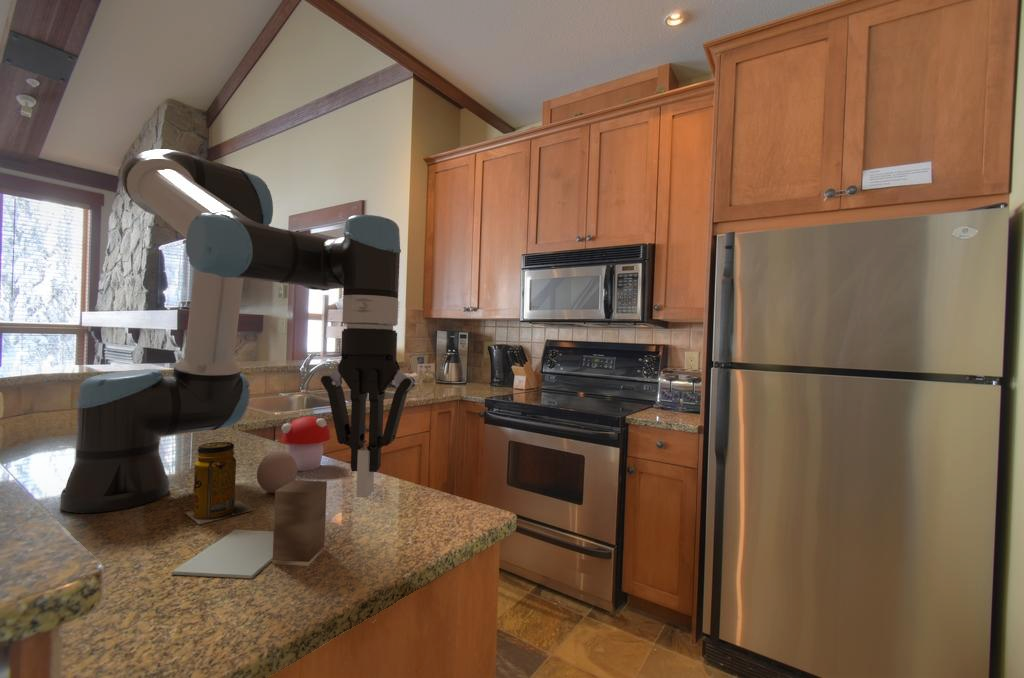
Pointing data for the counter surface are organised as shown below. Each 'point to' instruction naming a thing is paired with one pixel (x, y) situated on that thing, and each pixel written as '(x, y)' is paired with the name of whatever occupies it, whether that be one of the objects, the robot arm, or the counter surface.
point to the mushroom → (306, 441)
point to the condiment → (215, 484)
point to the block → (299, 522)
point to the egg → (276, 470)
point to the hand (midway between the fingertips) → (365, 493)
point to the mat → (232, 556)
